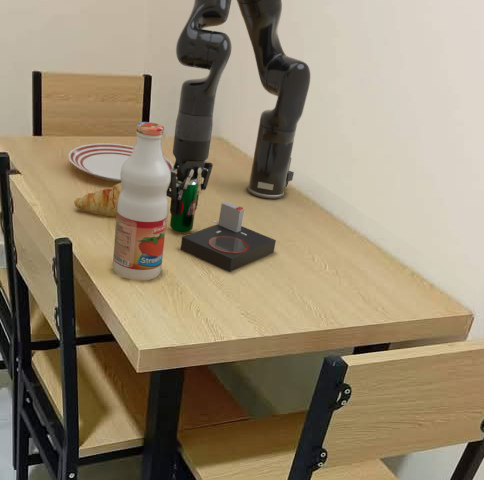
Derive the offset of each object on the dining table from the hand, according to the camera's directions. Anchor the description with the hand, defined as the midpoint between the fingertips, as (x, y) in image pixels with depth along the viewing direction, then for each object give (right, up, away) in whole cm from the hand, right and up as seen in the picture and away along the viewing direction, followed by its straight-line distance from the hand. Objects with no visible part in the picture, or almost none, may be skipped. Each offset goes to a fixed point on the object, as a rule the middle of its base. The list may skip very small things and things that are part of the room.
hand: (183, 211), depth 161 cm
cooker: (+9, -9, -4) cm, 14 cm away
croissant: (-15, +2, +8) cm, 17 cm away
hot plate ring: (+9, -9, -9) cm, 15 cm away
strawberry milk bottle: (-9, -15, -17) cm, 25 cm away
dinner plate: (-16, +16, +31) cm, 39 cm away
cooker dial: (+10, -4, -1) cm, 11 cm away
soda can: (0, -4, +2) cm, 4 cm away
